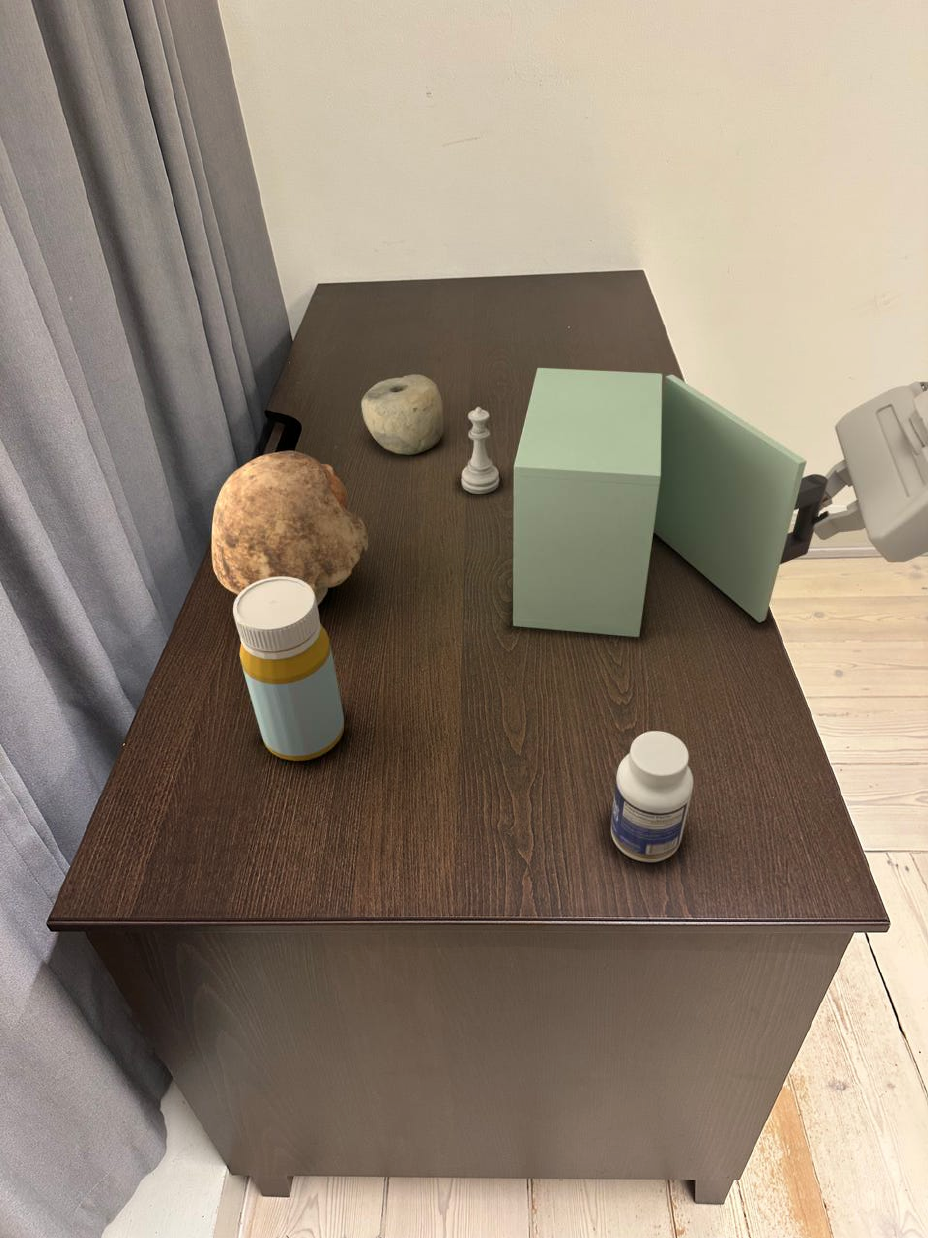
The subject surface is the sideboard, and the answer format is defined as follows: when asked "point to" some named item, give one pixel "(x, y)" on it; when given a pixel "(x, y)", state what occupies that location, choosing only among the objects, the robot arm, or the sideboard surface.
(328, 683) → the bottle
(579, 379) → the mini fridge
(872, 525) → the robot arm
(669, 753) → the pill bottle
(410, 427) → the stone
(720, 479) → the fridge door
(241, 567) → the tan rounded lump
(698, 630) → the sideboard surface
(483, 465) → the chess piece
